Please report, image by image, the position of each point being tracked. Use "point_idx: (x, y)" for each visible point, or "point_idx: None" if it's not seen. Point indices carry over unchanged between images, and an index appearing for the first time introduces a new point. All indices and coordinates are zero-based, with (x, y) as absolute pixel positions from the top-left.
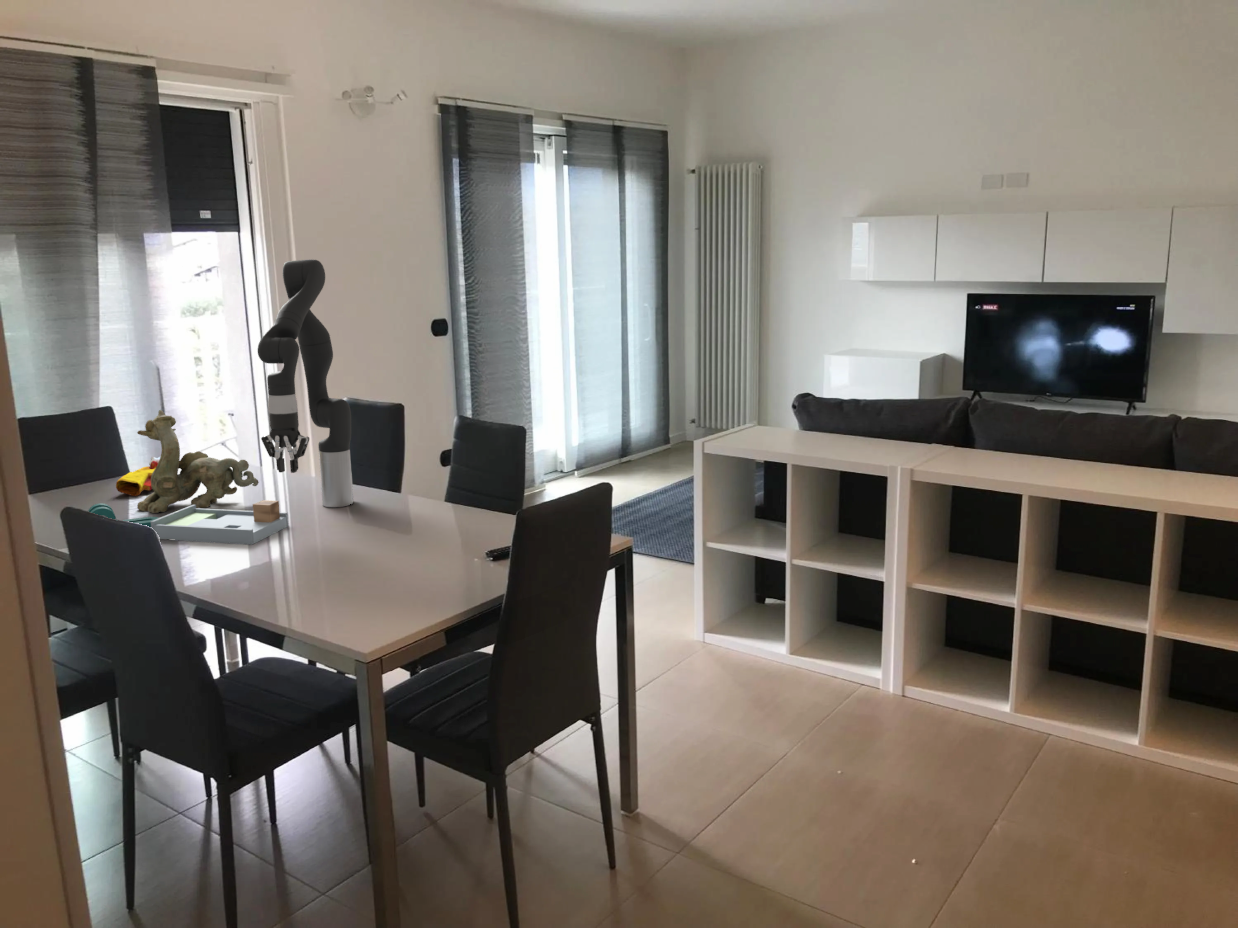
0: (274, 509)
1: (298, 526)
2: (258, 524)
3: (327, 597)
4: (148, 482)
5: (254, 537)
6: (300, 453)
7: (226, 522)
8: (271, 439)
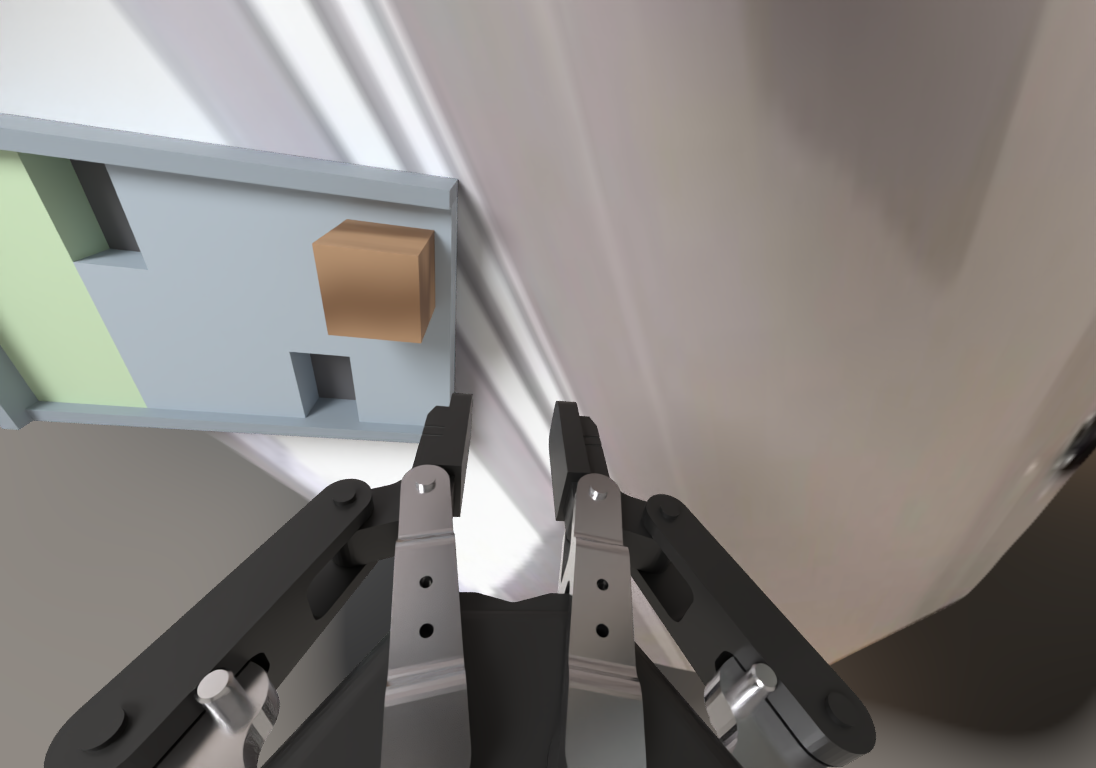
0: (426, 288)
1: (506, 182)
2: None
3: None
4: None
5: None
6: (677, 585)
7: (245, 316)
8: (257, 724)
